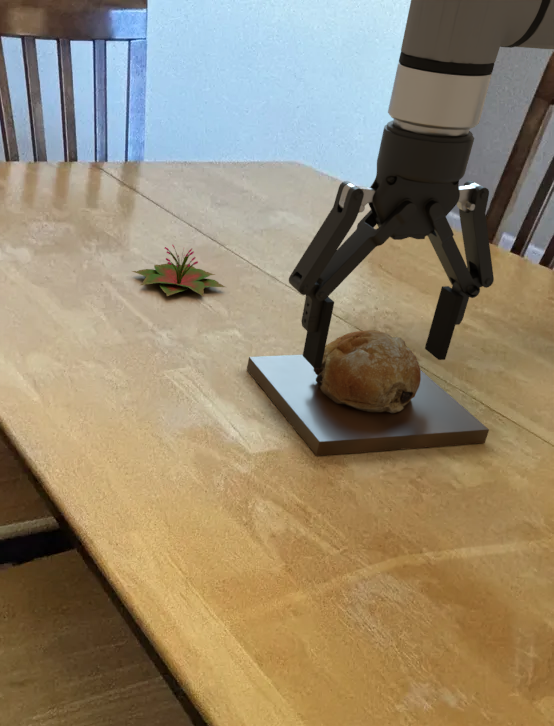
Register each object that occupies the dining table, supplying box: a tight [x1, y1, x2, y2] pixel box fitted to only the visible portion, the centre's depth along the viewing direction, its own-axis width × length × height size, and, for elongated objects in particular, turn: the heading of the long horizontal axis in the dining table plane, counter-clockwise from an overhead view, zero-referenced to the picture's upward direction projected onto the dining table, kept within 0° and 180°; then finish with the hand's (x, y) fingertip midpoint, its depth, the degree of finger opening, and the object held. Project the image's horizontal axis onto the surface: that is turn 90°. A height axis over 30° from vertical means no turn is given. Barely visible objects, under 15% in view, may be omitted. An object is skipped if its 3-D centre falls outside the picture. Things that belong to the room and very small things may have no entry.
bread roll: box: [313, 329, 422, 414], centre depth 87 cm, size 10×10×8 cm
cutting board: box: [246, 354, 490, 457], centre depth 89 cm, size 18×18×2 cm
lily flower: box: [131, 244, 226, 297], centre depth 111 cm, size 12×12×5 cm
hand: (374, 358), depth 86 cm, fingers open, 13 cm apart
